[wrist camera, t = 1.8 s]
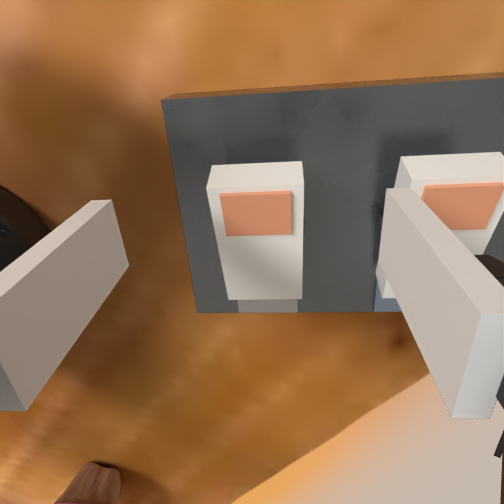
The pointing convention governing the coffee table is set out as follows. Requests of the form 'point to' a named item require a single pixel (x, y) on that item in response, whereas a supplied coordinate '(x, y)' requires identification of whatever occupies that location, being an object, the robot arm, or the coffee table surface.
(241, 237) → the block
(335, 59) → the coffee table surface
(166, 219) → the coffee table surface
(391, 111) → the breaker panel
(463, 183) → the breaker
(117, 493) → the cupcake
